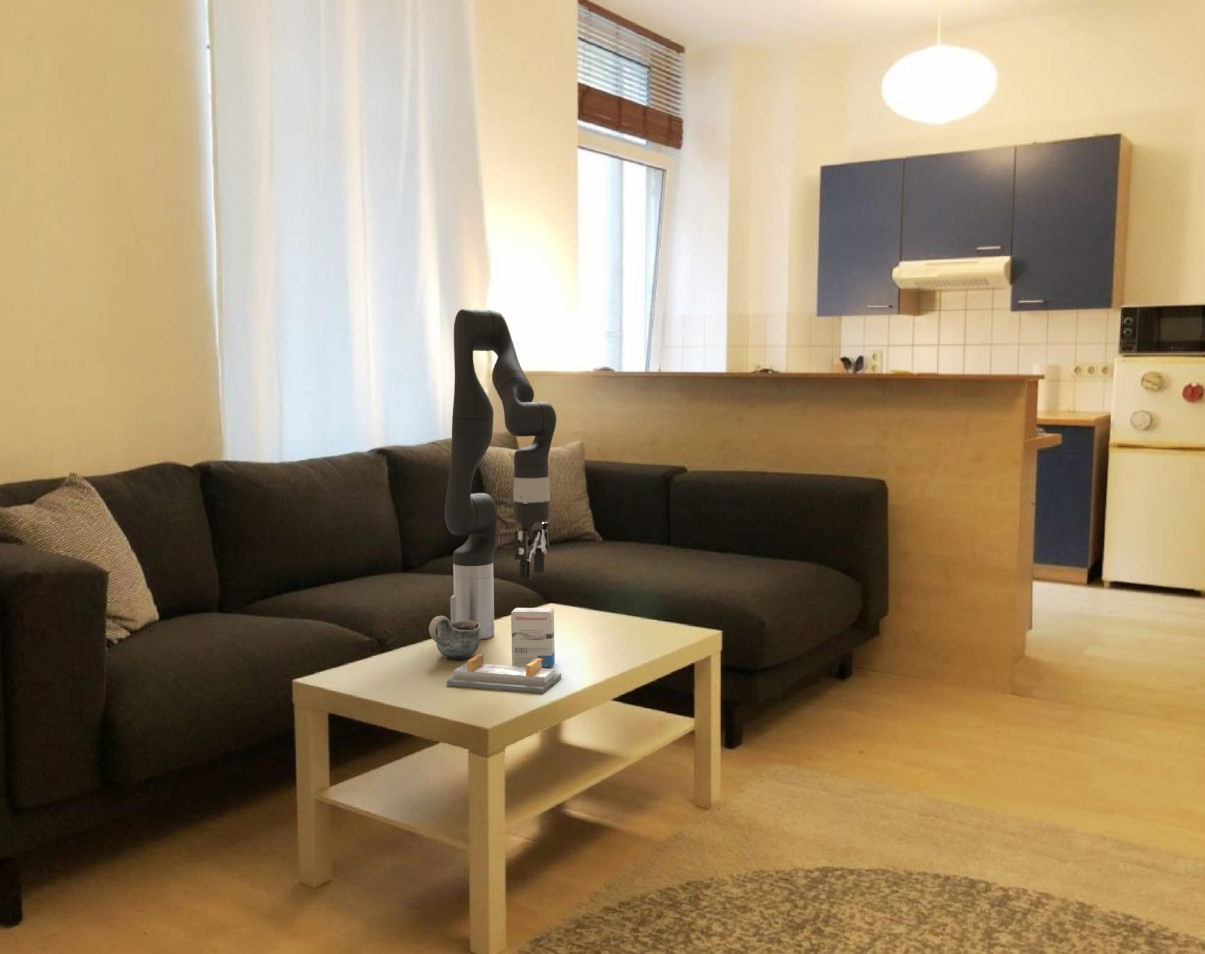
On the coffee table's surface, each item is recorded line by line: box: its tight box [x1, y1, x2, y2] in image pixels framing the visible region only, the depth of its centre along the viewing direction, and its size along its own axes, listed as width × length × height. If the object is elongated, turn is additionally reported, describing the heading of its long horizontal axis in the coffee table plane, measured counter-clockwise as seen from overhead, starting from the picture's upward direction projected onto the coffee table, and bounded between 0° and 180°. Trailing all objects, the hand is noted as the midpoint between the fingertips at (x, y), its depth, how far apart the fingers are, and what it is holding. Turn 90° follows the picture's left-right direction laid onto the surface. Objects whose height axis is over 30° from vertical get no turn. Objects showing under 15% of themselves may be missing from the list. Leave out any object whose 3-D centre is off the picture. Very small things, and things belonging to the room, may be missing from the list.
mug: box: [428, 615, 481, 660], centre depth 238 cm, size 10×12×10 cm
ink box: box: [510, 607, 556, 668], centre depth 233 cm, size 8×5×12 cm, turn 84°
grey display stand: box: [446, 653, 562, 695], centre depth 220 cm, size 20×11×4 cm, turn 73°
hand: (532, 575), depth 232 cm, fingers open, 8 cm apart
